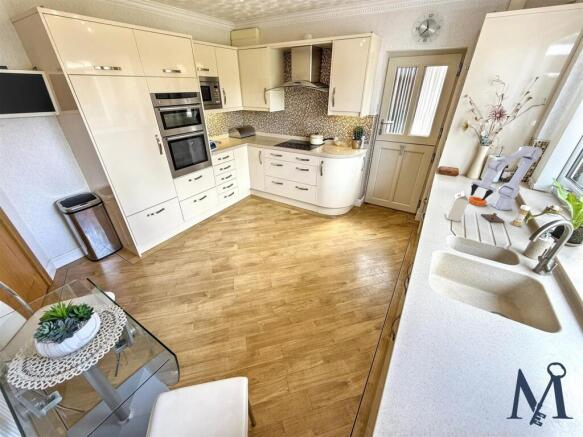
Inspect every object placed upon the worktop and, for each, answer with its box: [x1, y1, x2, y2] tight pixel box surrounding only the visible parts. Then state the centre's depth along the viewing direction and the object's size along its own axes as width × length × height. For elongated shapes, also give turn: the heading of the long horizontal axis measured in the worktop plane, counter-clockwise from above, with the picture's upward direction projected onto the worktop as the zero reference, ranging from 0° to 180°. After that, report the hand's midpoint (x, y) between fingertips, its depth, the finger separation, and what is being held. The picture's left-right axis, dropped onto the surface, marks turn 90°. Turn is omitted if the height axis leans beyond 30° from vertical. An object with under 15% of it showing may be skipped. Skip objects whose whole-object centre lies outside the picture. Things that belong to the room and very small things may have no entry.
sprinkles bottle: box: [510, 204, 532, 227], centre depth 147 cm, size 5×5×14 cm
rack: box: [480, 212, 506, 224], centre depth 154 cm, size 9×9×4 cm
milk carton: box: [445, 189, 470, 223], centre depth 149 cm, size 7×7×19 cm
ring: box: [468, 196, 488, 207], centre depth 176 cm, size 11×11×3 cm
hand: (477, 197), depth 160 cm, fingers open, 7 cm apart
